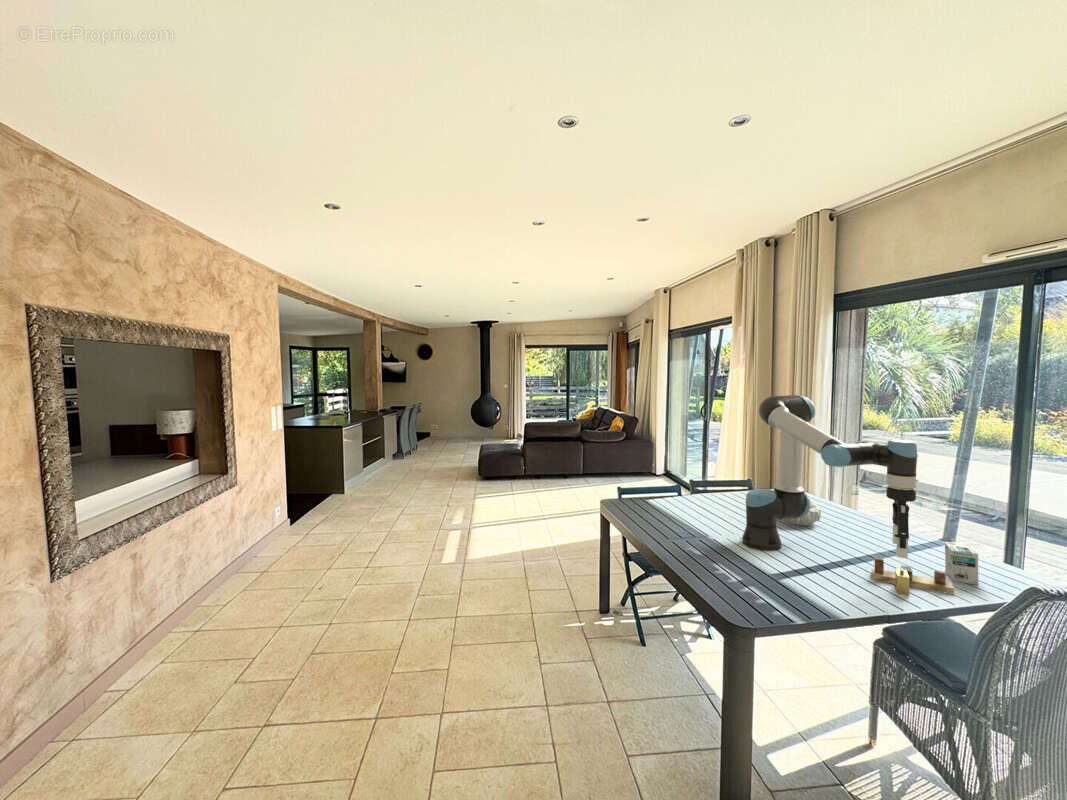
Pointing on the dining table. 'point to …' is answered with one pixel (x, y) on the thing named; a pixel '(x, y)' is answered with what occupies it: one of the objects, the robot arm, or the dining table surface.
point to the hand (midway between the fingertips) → (899, 550)
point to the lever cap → (902, 581)
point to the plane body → (913, 578)
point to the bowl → (808, 516)
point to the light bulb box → (961, 563)
